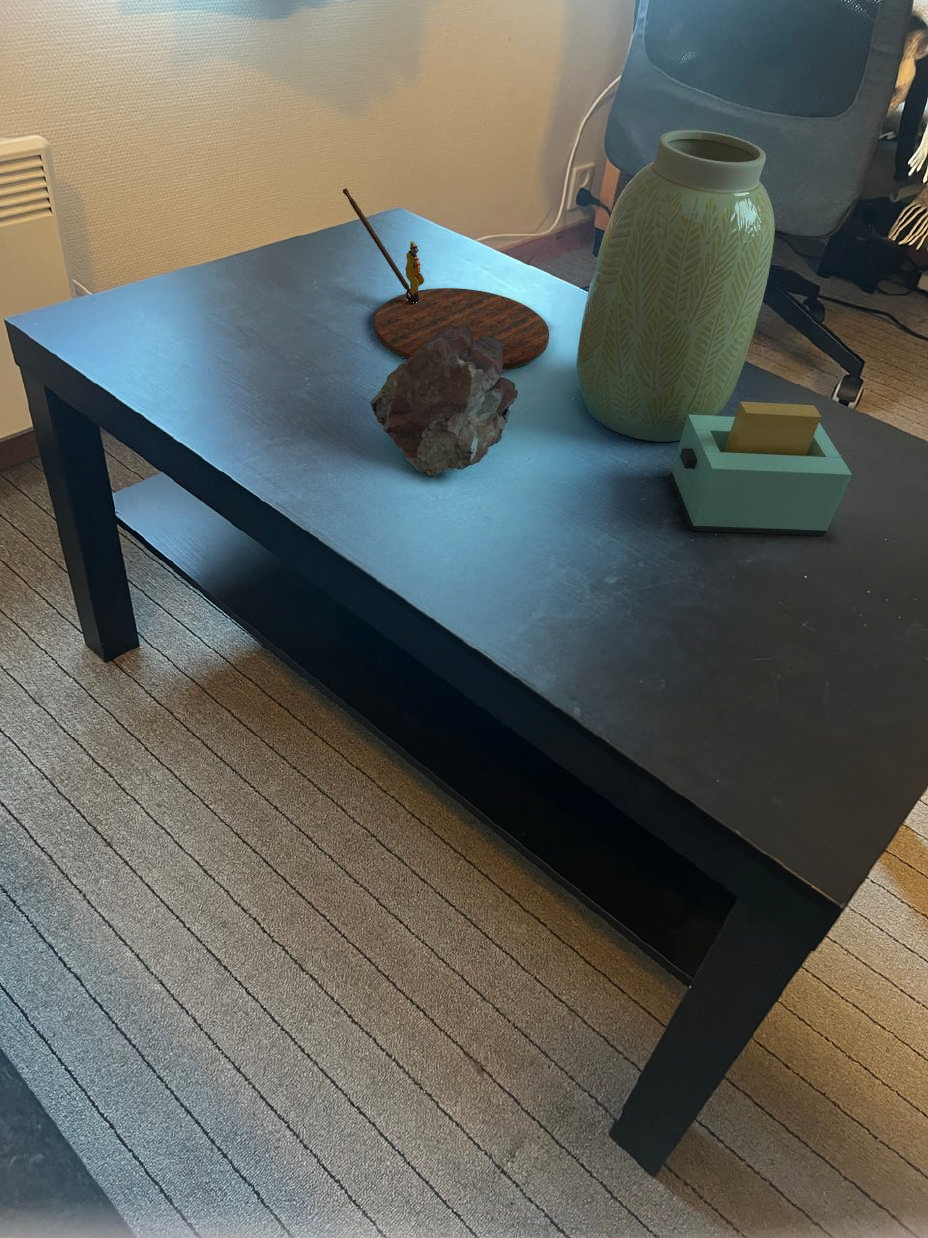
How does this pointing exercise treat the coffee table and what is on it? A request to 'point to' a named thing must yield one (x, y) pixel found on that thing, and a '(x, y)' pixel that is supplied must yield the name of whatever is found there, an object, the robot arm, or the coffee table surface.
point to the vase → (677, 287)
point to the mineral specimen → (447, 401)
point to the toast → (772, 429)
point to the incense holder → (453, 314)
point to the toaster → (755, 483)
